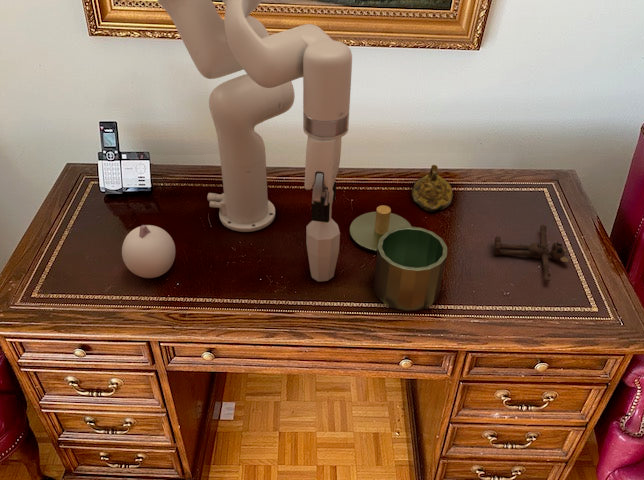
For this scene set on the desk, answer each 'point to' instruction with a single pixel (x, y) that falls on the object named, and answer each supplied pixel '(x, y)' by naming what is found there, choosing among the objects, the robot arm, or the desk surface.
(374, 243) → the lid
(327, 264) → the low poly bottle
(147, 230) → the ornament
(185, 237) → the desk surface
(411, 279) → the tin
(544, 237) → the brown thin branching figure
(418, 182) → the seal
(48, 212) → the desk surface
